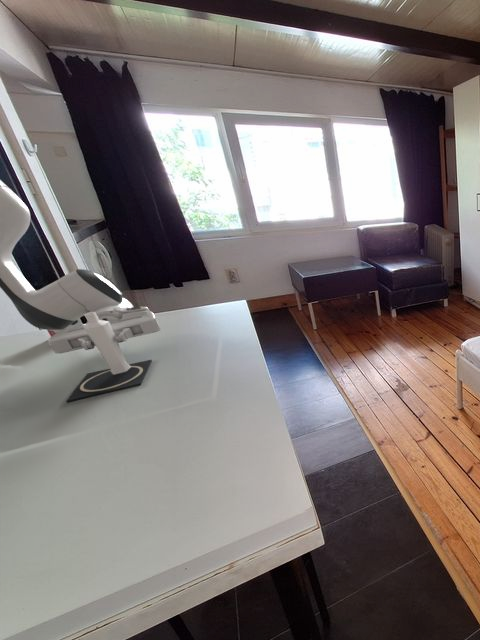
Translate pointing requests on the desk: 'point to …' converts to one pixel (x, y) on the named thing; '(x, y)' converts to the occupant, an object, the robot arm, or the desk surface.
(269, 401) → the desk surface
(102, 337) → the perfume bottle
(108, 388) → the circle mat
